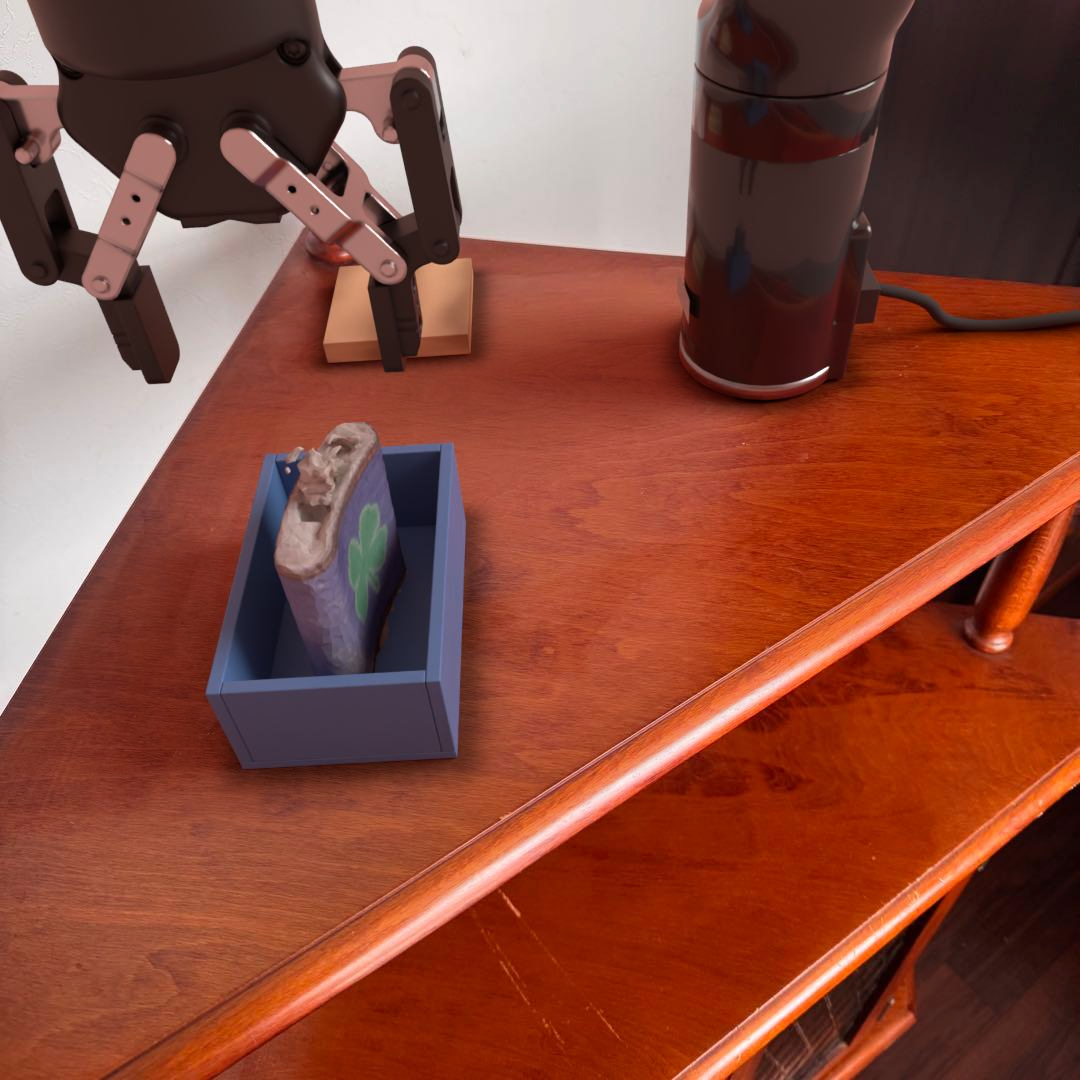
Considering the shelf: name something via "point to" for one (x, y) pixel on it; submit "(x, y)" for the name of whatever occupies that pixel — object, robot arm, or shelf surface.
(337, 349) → the board
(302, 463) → the flask
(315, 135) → the robot arm
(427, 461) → the bin
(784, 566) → the shelf surface
